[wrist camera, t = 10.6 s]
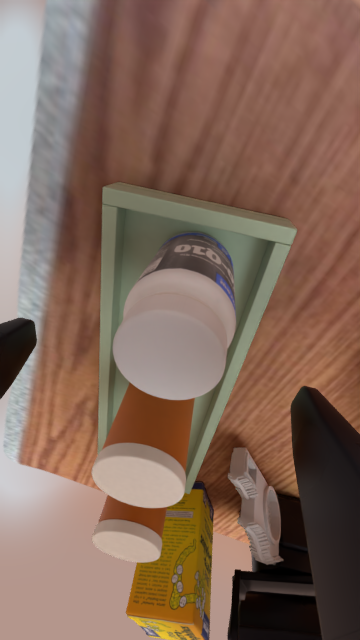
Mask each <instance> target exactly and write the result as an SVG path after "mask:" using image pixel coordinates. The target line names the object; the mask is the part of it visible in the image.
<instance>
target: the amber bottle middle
mask: <svg viewBox="0 0 360 640" xmlns="http://www.w3.org/2000/svg"><path fill="white" fill-rule="evenodd" d="M194 400H195V398H192V399H187V400H169V399H164V398H159V397H156V396H153V395H150V394H147V393H145V392H144V391H142V390H140V389H138V388H137V387H135V386H134V385H133V384H132V383H129V385H128V388H127V390H126V393H125V395H124V397H123V400H122V402H121V405H120V407H119V409H118V412H117V414H116V417H115V419H114V422H113V424H112V426H111V429H110V431H109V434H108V436H107V439H106V441H105V443H104V446H103V448H102V451H100V453H99V454H98V456H97V458H96V460H95V463H94V465H93V468H92V477H93V480H94V482H95V483H96V485H97V486H98V487H99V488H100V489H101V490H102V491H103V492H105V493H106V494H108V495H109V496H111V497H113V498H115V499H117V500H119V501H121V502H124V503H127V504H130V505H133V506H138V507H144V508H163V507H168V506H171V505H174V504H176V503H177V502H179V501H180V500H181V499H182V497H183V495H184V492H185V485H186V474H185V470H186V463H187V455H188V447H189V439H190V431H191V424H192V416H193V408H194Z"/></svg>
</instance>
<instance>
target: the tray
mask: <svg viewBox="0 0 360 640" xmlns="http://www.w3.org/2000/svg"><path fill="white" fill-rule="evenodd" d="M102 203H103V205H102V245H101V300H100V355H99V409H98V454H99V453H100V451H102V448H103V446H104V443H105V441H106V439H107V436H108V434H109V431H110V429H111V426H112V424H113V422H114V419H115V417H116V414H117V412H118V409H119V407H120V405H121V402H122V400H123V397H124V395H125V393H126V390H127V388H128V385H129V383H130V382H129V381H128V380H127V379H126V378H125V377H124V376H123V374H122V373H121V372H120V370H119V369H118V367H117V365H116V362H115V360H114V355H113V340H114V337H115V334H116V332H117V330H118V328H119V326H120V325H121V323H122V321H123V311H124V305H125V302H126V299H127V297H128V294H129V292H130V291H131V289H132V288H133V286H134V285H135V283H136V282H137V281H138V279H139V278H140V276H141V275H142V273H143V272H144V270H145V269H146V267H147V266H148V265H149V263H150V262H151V260H152V259H153V258H154V256H155V255H156V254H157V252H158V251H159V249H160V248H161V247H162V245H163V244H164V243H165V242H166V241H167V240H169V239H170V238H172V237H173V236H175V235H178V234H181V233H185V232H202V233H205V234H208V235H210V236H212V237H214V238H215V239H217V240H218V241H219V242H221V243H222V244H223V246H224V247H225V248H226V249H227V251H228V252H229V254H230V256H231V259H232V262H233V267H234V285H235V307H236V308H235V311H236V329H235V333H234V337H233V339H232V342H231V344H230V345H229V347H228V348H227V355H226V366H225V371H224V373H223V376H222V378H221V380H220V381H219V383H218V384H217V385H216V386H215V387H214V388H213V389H211V390H210V391H209V392H207V393H205V394H204V395H201V396H199V397H195V400H194V408H193V416H192V424H191V431H190V439H189V447H188V455H187V463H186V470H185V474H186V485H185V492H184V493H187V494H190V492H191V489H192V487H193V484H194V482H195V479H196V477H197V474H198V472H199V470H200V467H201V465H202V462H203V460H204V457H205V455H206V453H207V450H208V448H209V445H210V443H211V440H212V438H213V435H214V433H215V431H216V428H217V426H218V423H219V421H220V418H221V416H222V413H223V411H224V409H225V406H226V404H227V401H228V399H229V396H230V394H231V392H232V389H233V387H234V384H235V382H236V379H237V377H238V374H239V372H240V370H241V367H242V365H243V362H244V360H245V357H246V355H247V352H248V350H249V348H250V345H251V343H252V340H253V338H254V335H255V333H256V330H257V328H258V326H259V323H260V321H261V318H262V316H263V313H264V311H265V309H266V306H267V304H268V301H269V299H270V296H271V294H272V291H273V289H274V287H275V284H276V282H277V279H278V277H279V274H280V272H281V269H282V267H283V265H284V262H285V260H286V257H287V255H288V252H289V250H290V248H291V244H292V243H293V240H294V238H295V235H296V233H297V228H296V227H295V226H294V225H293V224H292V223H291V222H290V220H289V219H286V218H282V217H277V216H273V215H268V214H263V213H259V212H254V211H250V210H245V209H241V208H236V207H231V206H227V205H222V204H218V203H213V202H209V201H204V200H199V199H195V198H190V197H186V196H181V195H176V194H172V193H167V192H163V191H158V190H154V189H149V188H144V187H140V186H135V185H131V184H126V183H122V182H117V183H114V184H110V185H107V186H104V187H103V191H102Z"/></svg>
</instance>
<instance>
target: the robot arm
mask: <svg viewBox="0 0 360 640" xmlns="http://www.w3.org/2000/svg"><path fill="white" fill-rule="evenodd" d="M36 342H37V338H36V330H35V324H34V322H33V321H32V320H29V319H25V318H17V319H14V320H11V321H8V322H5V323H2V324H0V399H1V398H2V397H3V395H4V394H5V392H6V391H7V390H8V389H9V387H10V386H11V385H12V383H13V382H14V380H15V379H16V377H17V375H18V374H19V372H20V370H21V369H22V367H23V366H24V364H25V362H26V361H27V359H28V357H29V356H30V354H31V353H32V351H33V349H34V348H35V346H36ZM291 427H292V448H293V458H294V465H295V471H296V477H297V484H298V490H299V496H300V500H299V499H295V498H291V497H287V496H283V495H279V494H276V495H277V499H278V503H279V509H280V518H281V534H280V540H279V556H280V558H282V559H283V560H284V561H280V562H277V563H276V564H275V565H273V564H271V565H270V564H268V565H266V564H265V563H262V562H259V561H257V560H255V557H254V555H253V554H252V551H251V554H252V571H253V572H250V571H241V570H235V575H234V576H233V577H232V578H233V580H232V581H233V588H232V606H231V614H230V621H229V628H228V640H360V434H359V433H358V432H357V431H356V430H355V429H354V428H353V427H352V426H351V425H350V424H349V423H348V421H347V420H346V419H345V418H344V417H343V416H342V415H341V414H340V413H339V412H338V411H337V410H336V409H335V408H334V407H333V406H332V405H331V404H330V402H329V401H328V400H327V399H326V398H325V397H324V396H323V395H322V394H321V393H320V392H319V391H318V390H317V389H315V388H311V387H307V386H303V387H302V388H301V389H300V390H299V392H298V393H297V395H296V397H295V398H294V400H293V401H292V404H291ZM240 517H241V512H240V513H239V518H240Z"/></svg>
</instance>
